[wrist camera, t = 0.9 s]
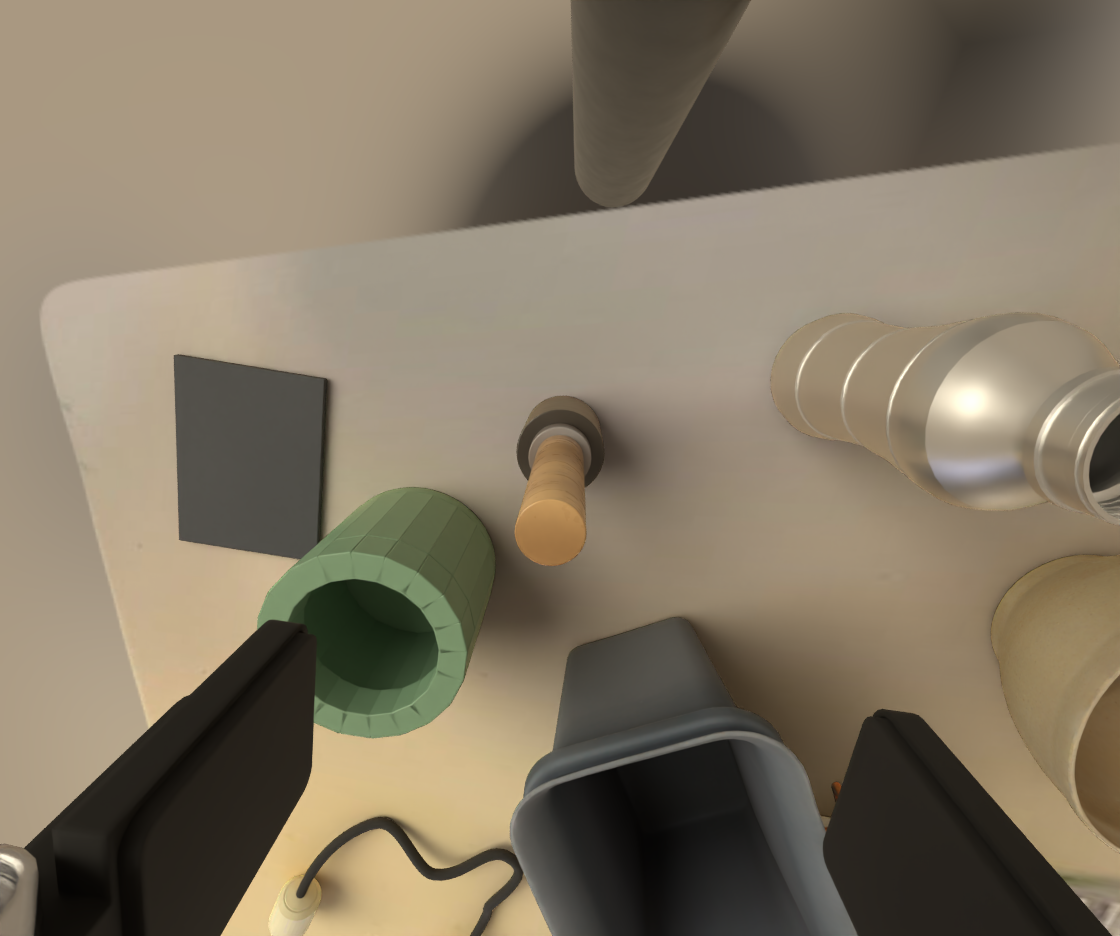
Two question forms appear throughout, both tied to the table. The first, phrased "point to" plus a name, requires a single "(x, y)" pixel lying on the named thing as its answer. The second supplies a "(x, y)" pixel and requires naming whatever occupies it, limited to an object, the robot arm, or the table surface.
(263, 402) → the mat
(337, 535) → the jar
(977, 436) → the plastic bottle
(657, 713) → the storage bin
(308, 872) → the cable
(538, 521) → the brush
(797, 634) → the table surface
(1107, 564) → the planter bowl
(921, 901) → the robot arm
